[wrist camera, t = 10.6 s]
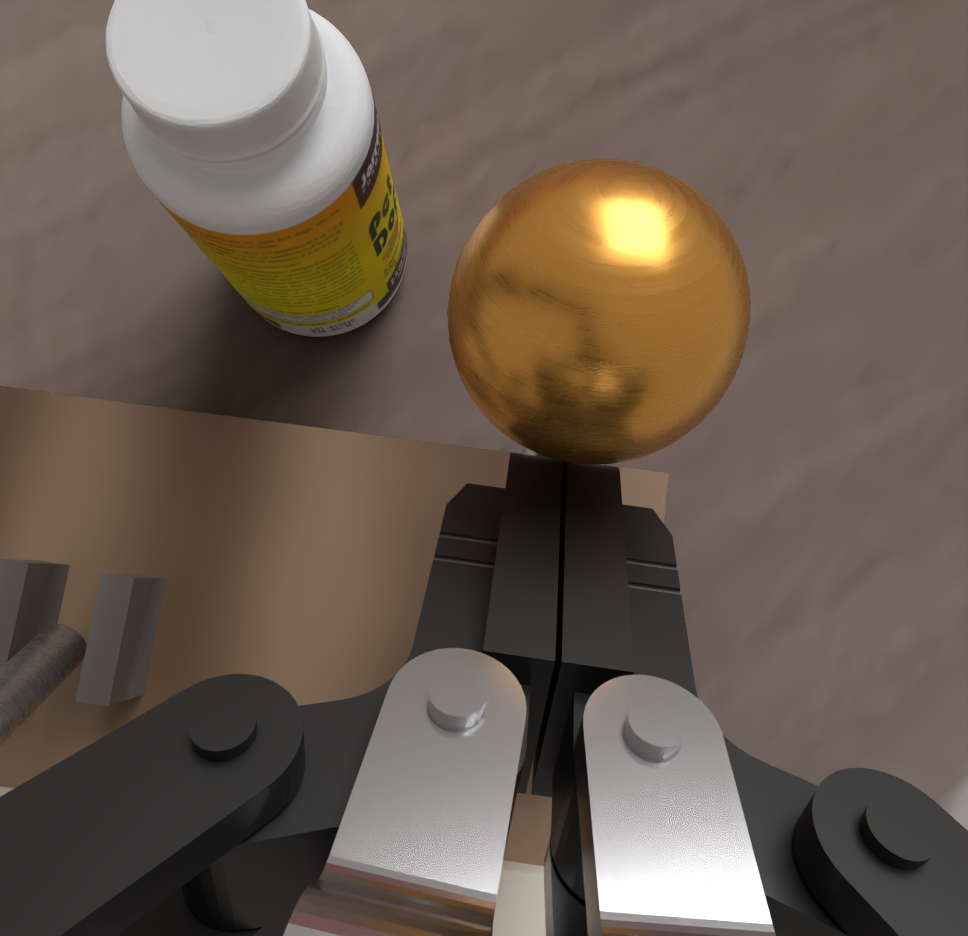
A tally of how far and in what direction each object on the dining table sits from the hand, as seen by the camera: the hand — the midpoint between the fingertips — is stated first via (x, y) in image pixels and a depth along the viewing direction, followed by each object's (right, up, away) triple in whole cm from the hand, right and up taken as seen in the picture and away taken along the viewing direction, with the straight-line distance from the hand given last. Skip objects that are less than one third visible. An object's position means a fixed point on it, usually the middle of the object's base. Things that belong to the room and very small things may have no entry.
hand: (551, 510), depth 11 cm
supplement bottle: (-6, +7, +14) cm, 17 cm away
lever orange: (0, -5, +8) cm, 10 cm away
